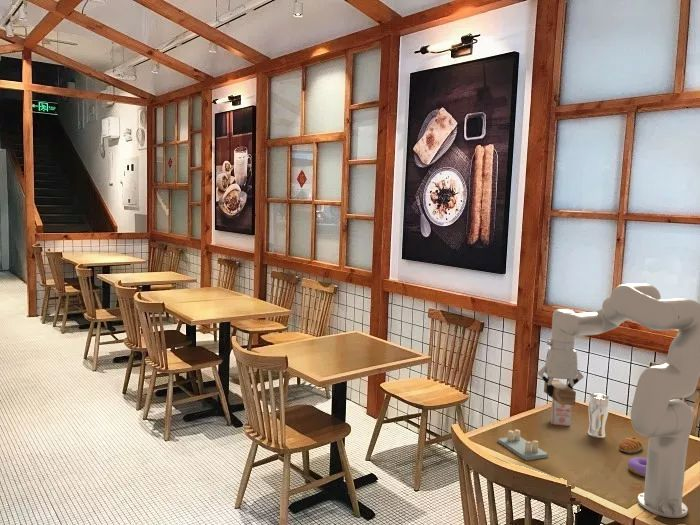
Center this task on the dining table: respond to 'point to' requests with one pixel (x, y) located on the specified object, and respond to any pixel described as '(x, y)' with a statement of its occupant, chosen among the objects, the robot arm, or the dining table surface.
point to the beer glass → (598, 414)
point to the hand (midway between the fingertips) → (559, 395)
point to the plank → (561, 393)
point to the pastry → (630, 445)
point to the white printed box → (560, 414)
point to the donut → (638, 466)
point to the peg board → (522, 446)
